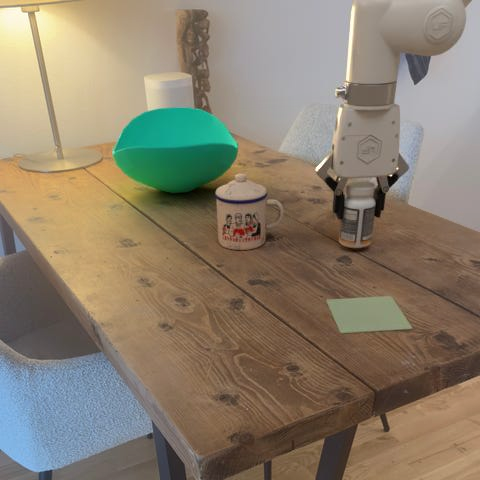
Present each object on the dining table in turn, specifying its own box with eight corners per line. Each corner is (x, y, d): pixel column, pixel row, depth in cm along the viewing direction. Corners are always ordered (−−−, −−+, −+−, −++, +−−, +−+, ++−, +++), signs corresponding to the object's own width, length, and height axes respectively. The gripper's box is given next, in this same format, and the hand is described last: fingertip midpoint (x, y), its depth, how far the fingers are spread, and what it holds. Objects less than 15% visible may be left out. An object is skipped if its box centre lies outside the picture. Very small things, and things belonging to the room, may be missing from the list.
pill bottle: (364, 236, 102) (371, 178, 96) (375, 247, 98) (383, 188, 91) (334, 238, 101) (338, 180, 95) (344, 250, 97) (349, 190, 91)
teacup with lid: (217, 252, 100) (213, 183, 92) (217, 233, 107) (214, 168, 99) (284, 250, 100) (287, 181, 92) (280, 231, 107) (281, 166, 99)
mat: (391, 296, 85) (391, 295, 85) (412, 329, 77) (412, 328, 77) (325, 300, 84) (325, 299, 84) (340, 333, 76) (340, 332, 76)
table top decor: (248, 213, 115) (248, 142, 107) (112, 221, 113) (100, 149, 105) (231, 162, 146) (229, 104, 138) (123, 168, 144) (115, 109, 136)
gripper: (317, 101, 82) (311, 226, 93) (434, 96, 83) (413, 220, 94) (309, 93, 88) (303, 211, 99) (417, 88, 88) (400, 206, 100)
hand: (357, 214), depth 96 cm, fingers closed on pill bottle, 5 cm apart
